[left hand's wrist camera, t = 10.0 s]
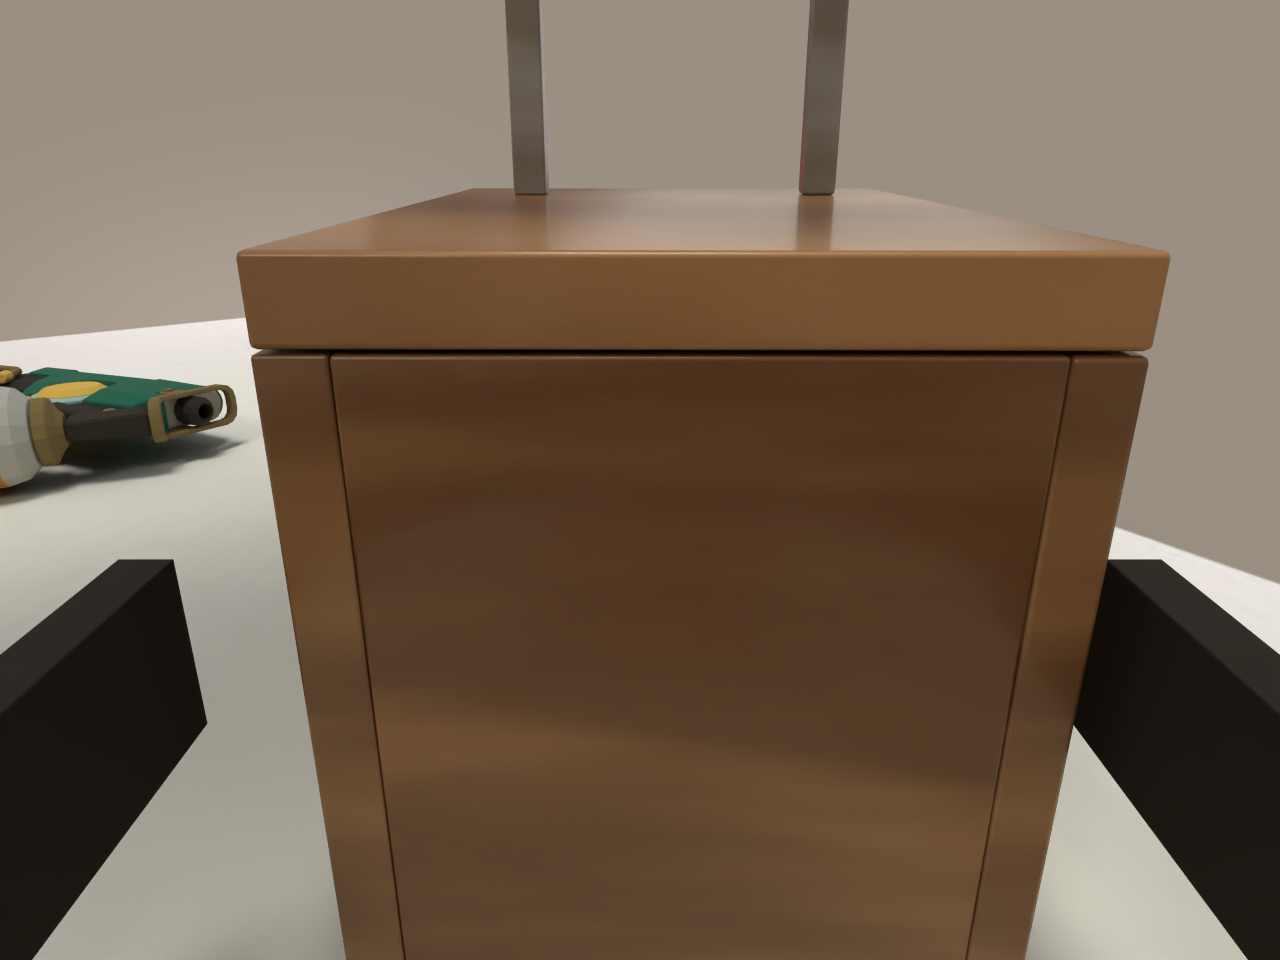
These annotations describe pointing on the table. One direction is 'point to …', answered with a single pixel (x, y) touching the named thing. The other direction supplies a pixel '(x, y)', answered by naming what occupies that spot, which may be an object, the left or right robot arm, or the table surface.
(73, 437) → the spray gun
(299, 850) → the table surface
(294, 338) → the lid
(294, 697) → the table surface
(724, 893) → the chest
